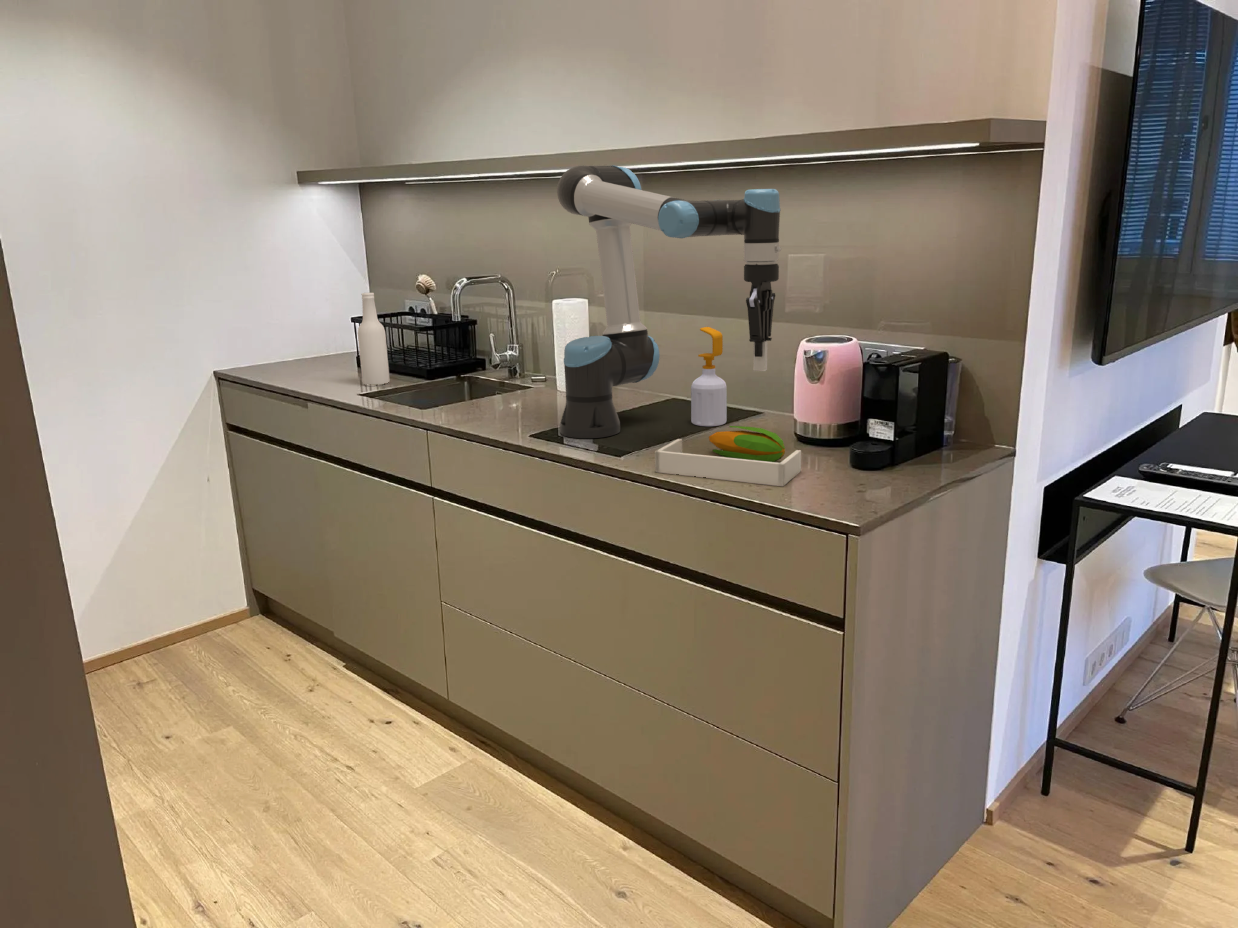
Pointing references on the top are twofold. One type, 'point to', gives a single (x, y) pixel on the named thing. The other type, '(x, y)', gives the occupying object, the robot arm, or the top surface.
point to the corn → (749, 444)
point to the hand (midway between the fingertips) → (760, 370)
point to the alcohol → (372, 344)
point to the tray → (726, 466)
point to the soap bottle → (709, 388)
